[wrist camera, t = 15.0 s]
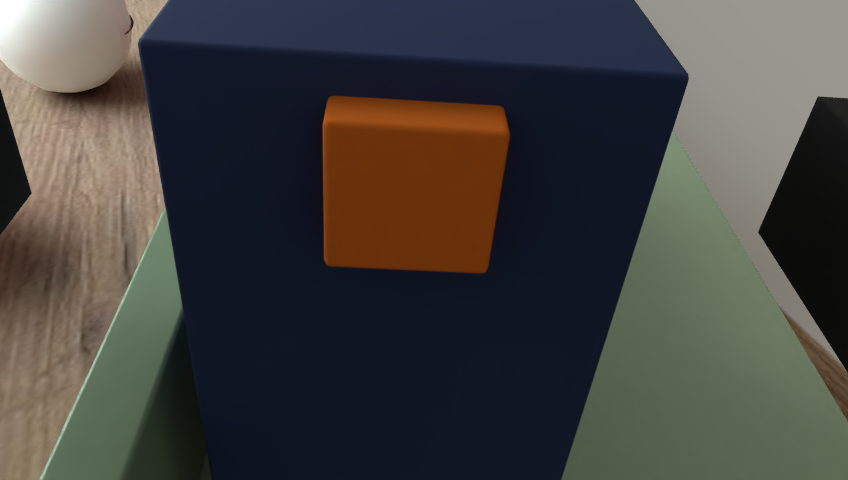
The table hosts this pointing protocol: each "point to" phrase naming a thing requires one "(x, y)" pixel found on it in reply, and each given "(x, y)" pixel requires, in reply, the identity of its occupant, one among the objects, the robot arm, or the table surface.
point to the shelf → (609, 394)
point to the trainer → (402, 223)
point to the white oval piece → (64, 41)
